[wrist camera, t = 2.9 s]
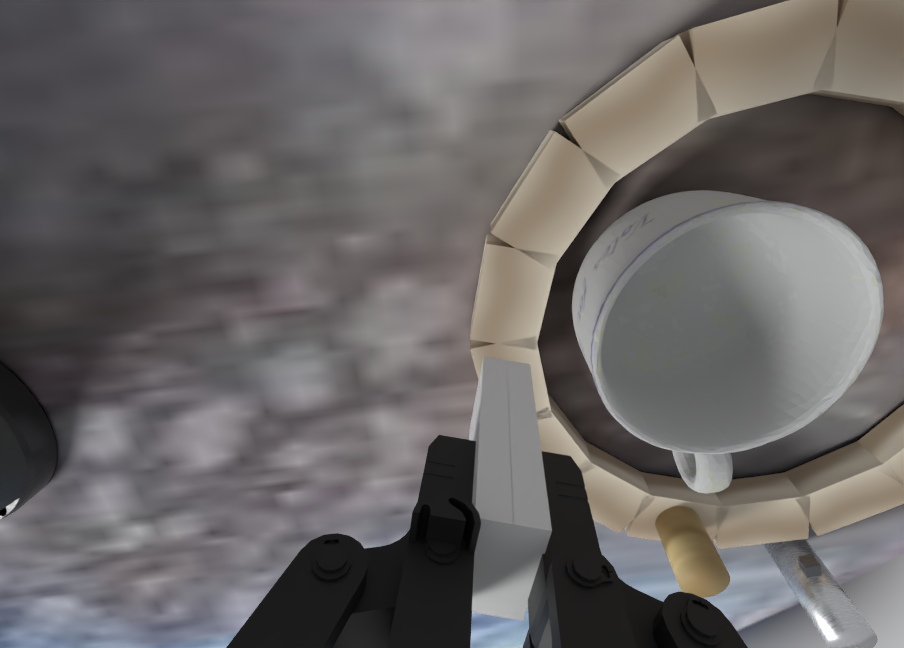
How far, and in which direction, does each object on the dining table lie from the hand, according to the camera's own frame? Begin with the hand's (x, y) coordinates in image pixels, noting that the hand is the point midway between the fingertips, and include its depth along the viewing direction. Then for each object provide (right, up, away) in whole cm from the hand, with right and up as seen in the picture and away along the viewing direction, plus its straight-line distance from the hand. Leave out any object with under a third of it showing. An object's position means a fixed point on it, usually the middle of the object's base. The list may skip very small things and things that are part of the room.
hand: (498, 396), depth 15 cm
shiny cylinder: (+21, -12, +16) cm, 29 cm away
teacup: (+10, +3, +11) cm, 15 cm away
